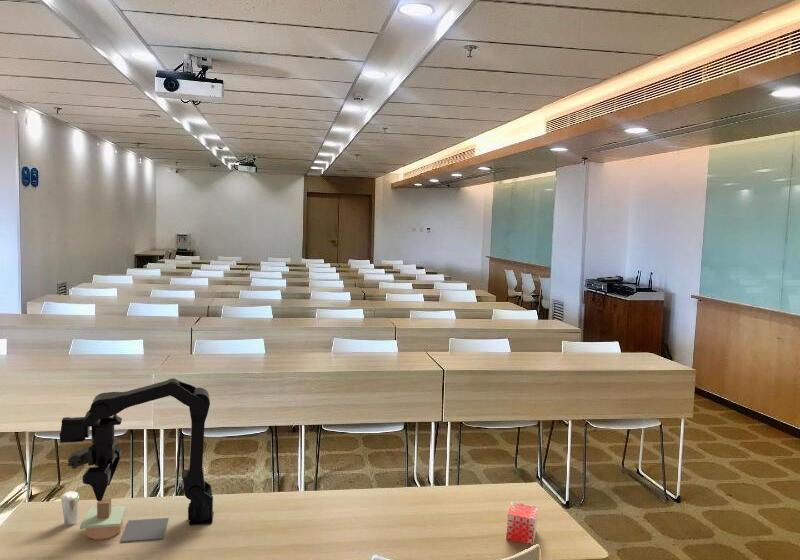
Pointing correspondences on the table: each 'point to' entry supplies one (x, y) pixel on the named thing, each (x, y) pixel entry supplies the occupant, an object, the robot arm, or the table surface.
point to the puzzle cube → (522, 523)
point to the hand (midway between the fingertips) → (103, 492)
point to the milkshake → (70, 507)
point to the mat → (145, 530)
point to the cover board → (106, 521)
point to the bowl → (103, 532)
